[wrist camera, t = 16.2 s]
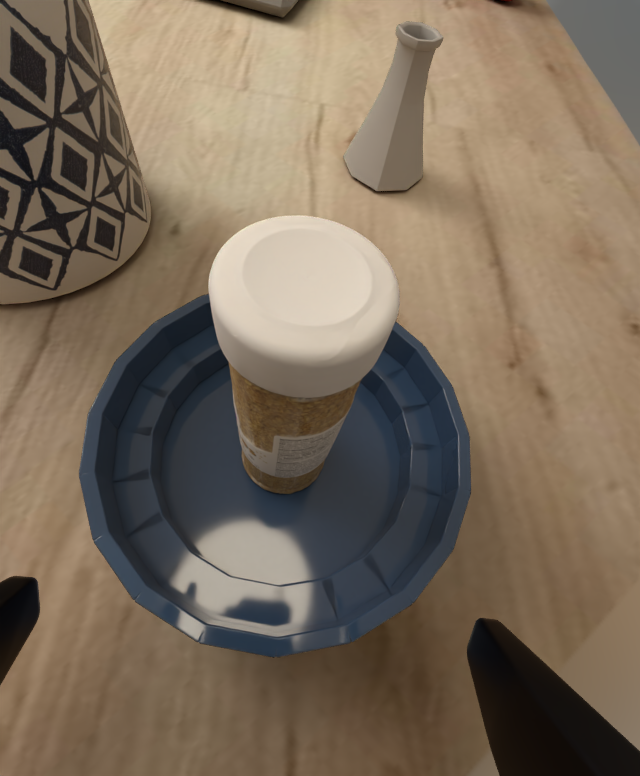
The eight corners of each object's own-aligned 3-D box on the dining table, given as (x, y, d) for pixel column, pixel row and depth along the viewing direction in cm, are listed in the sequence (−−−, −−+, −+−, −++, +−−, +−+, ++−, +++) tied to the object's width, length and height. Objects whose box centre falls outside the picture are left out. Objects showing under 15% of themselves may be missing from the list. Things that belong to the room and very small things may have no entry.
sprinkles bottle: (234, 425, 21) (191, 213, 9) (313, 408, 22) (367, 200, 10) (251, 507, 19) (224, 376, 7) (336, 484, 20) (437, 338, 8)
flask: (434, 183, 35) (490, 48, 26) (373, 202, 32) (413, 61, 24) (389, 141, 37) (426, 5, 29) (329, 156, 35) (350, 12, 26)
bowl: (428, 670, 17) (477, 696, 13) (53, 598, 16) (-14, 603, 13) (435, 361, 25) (466, 319, 21) (186, 306, 25) (171, 254, 21)
